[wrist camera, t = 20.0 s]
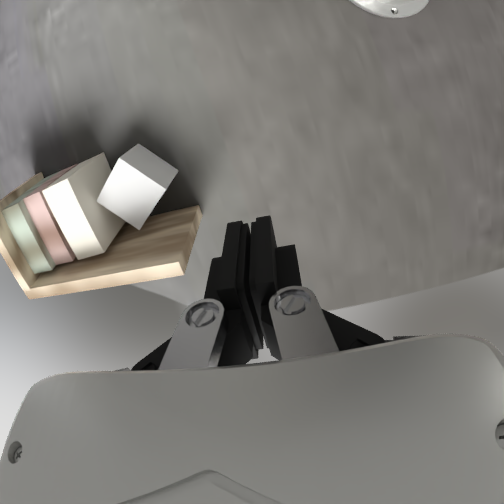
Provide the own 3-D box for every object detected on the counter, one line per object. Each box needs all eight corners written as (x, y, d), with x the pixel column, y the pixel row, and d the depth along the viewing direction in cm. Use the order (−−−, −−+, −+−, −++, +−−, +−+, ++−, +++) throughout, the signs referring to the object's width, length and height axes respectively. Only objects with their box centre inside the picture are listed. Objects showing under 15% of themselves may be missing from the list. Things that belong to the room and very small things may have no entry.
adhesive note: (138, 143, 33) (119, 157, 28) (179, 170, 35) (166, 189, 30) (116, 181, 36) (96, 201, 31) (154, 207, 38) (139, 230, 33)
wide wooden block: (34, 175, 35) (-19, 215, 25) (173, 121, 32) (136, 148, 22) (68, 247, 41) (29, 299, 31) (202, 215, 38) (184, 274, 28)
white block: (79, 163, 34) (41, 191, 27) (103, 152, 34) (67, 178, 26) (107, 222, 39) (78, 260, 31) (130, 214, 38) (104, 252, 31)
